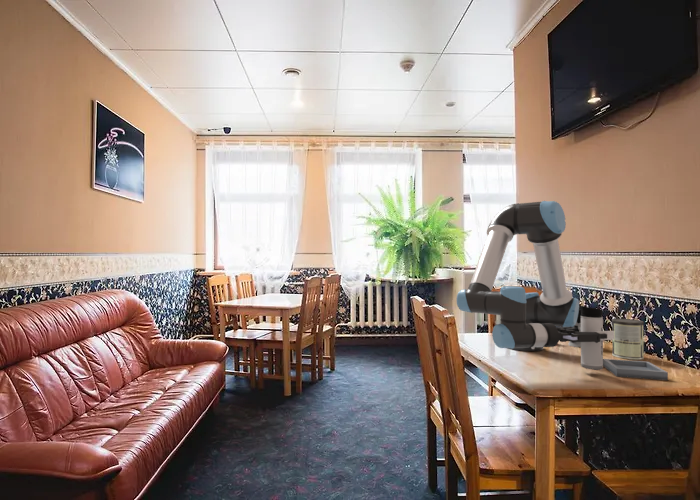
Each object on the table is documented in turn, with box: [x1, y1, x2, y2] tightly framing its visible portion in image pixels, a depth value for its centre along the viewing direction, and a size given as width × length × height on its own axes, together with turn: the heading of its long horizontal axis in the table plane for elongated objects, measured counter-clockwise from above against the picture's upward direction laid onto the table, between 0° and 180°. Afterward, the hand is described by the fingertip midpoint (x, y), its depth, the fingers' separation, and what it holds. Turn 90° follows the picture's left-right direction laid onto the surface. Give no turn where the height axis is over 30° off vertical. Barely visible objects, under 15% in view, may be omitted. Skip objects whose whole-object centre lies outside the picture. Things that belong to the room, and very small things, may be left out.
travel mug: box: [579, 305, 604, 371], centre depth 136 cm, size 6×7×20 cm
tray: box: [603, 358, 669, 381], centre depth 138 cm, size 14×14×2 cm
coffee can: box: [611, 318, 645, 361], centre depth 161 cm, size 10×10×14 cm
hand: (604, 333), depth 137 cm, fingers closed on travel mug, 6 cm apart
